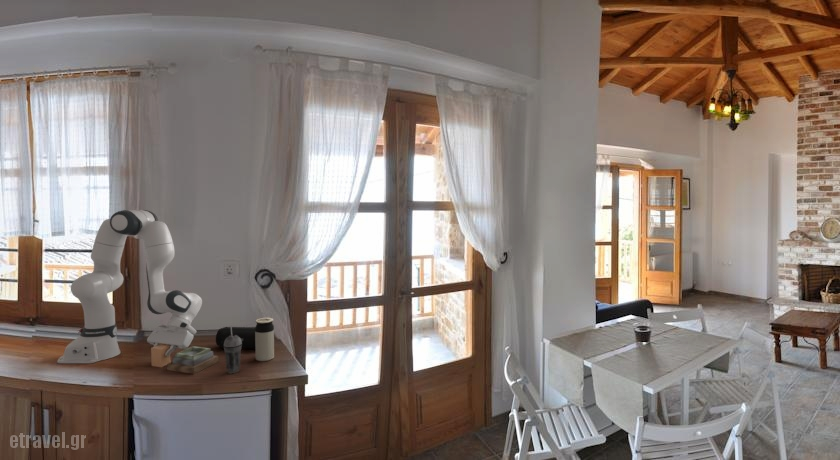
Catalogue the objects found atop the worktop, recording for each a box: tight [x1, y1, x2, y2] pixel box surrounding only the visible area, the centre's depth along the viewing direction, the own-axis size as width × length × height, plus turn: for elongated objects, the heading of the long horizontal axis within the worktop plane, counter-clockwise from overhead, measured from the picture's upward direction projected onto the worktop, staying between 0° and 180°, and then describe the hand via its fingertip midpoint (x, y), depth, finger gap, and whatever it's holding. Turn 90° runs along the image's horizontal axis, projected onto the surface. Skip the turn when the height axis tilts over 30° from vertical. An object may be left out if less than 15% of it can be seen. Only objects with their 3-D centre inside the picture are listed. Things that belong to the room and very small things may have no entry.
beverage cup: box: [222, 325, 242, 375], centre depth 175 cm, size 7×7×20 cm
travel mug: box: [254, 317, 275, 362], centre depth 190 cm, size 8×8×18 cm
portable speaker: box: [215, 326, 256, 349], centre depth 204 cm, size 26×10×10 cm, turn 90°
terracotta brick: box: [150, 344, 172, 368], centre depth 182 cm, size 5×5×8 cm
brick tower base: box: [166, 345, 220, 375], centre depth 181 cm, size 14×14×6 cm
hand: (159, 355), depth 181 cm, fingers closed on terracotta brick, 5 cm apart
